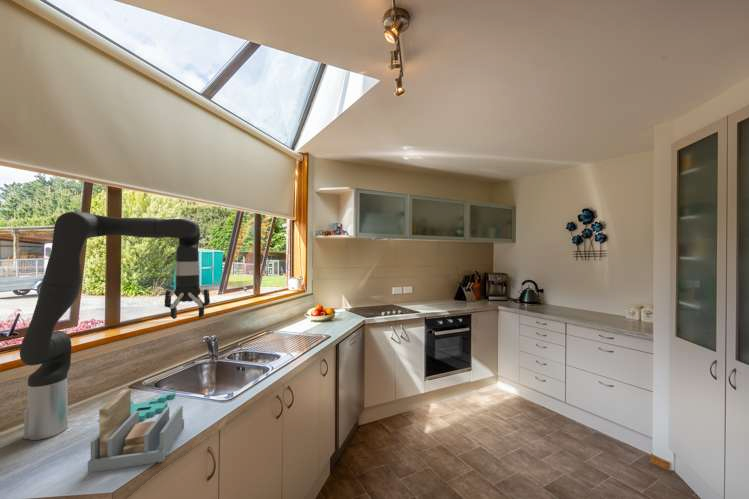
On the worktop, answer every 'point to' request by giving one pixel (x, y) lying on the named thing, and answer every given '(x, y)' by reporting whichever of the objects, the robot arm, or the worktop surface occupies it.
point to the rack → (156, 435)
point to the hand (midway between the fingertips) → (187, 317)
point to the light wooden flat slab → (113, 418)
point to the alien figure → (151, 406)
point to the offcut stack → (136, 438)
